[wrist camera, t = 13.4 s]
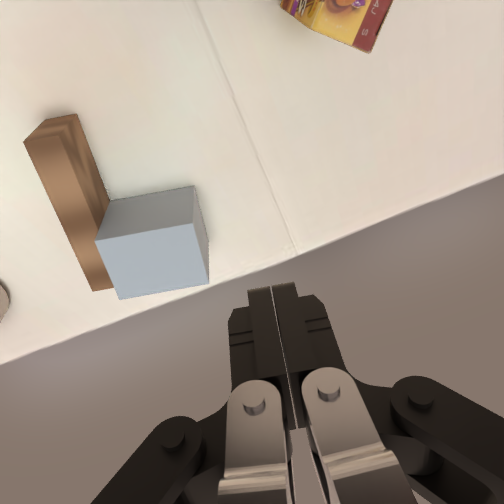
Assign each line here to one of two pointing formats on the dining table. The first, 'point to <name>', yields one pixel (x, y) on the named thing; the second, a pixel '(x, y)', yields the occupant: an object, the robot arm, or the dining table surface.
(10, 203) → the dining table surface
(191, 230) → the block
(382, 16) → the candy box
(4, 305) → the can
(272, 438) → the robot arm
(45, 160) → the board
